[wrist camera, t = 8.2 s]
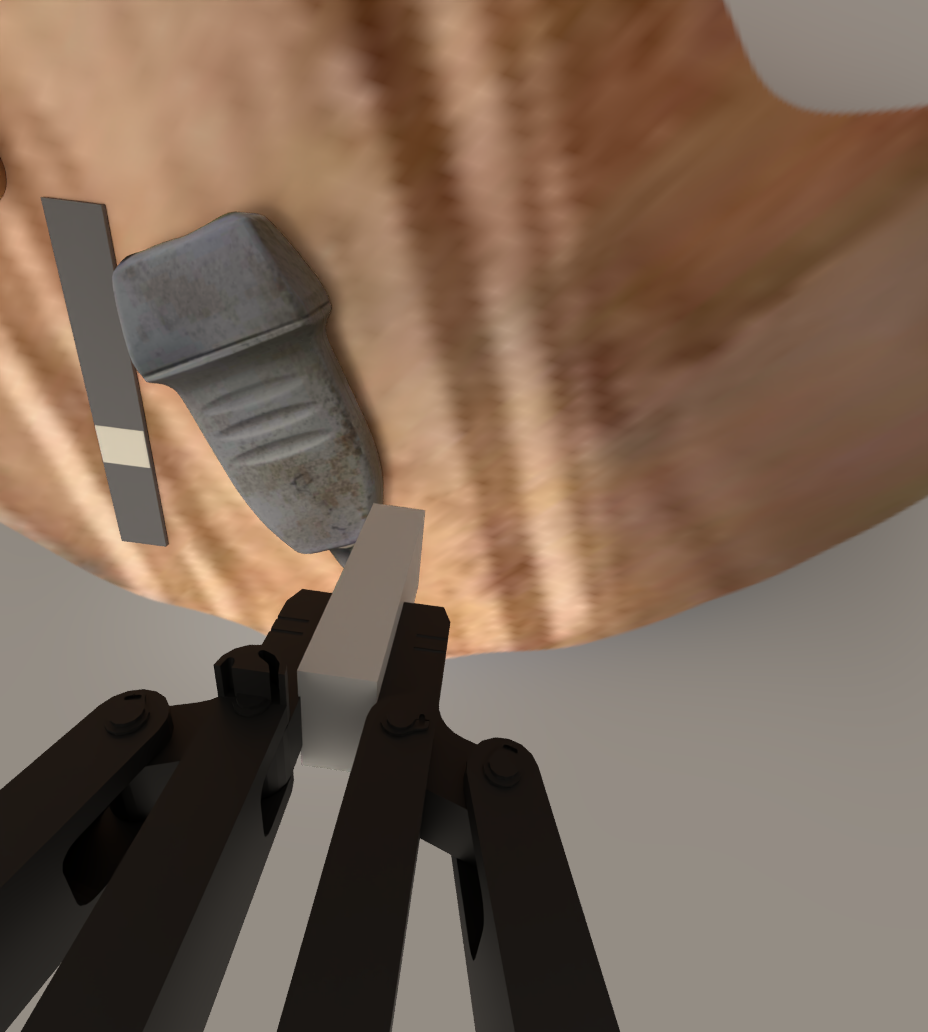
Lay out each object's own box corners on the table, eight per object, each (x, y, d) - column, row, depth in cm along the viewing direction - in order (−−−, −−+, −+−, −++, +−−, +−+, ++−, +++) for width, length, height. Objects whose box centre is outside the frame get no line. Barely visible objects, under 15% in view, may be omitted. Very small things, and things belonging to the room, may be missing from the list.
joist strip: (45, 197, 27) (40, 197, 27) (104, 204, 27) (100, 204, 27) (124, 538, 37) (121, 541, 37) (168, 544, 37) (165, 546, 37)
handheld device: (303, 570, 38) (278, 614, 34) (130, 267, 29) (68, 276, 25) (434, 536, 36) (423, 578, 32) (290, 198, 27) (251, 196, 23)
